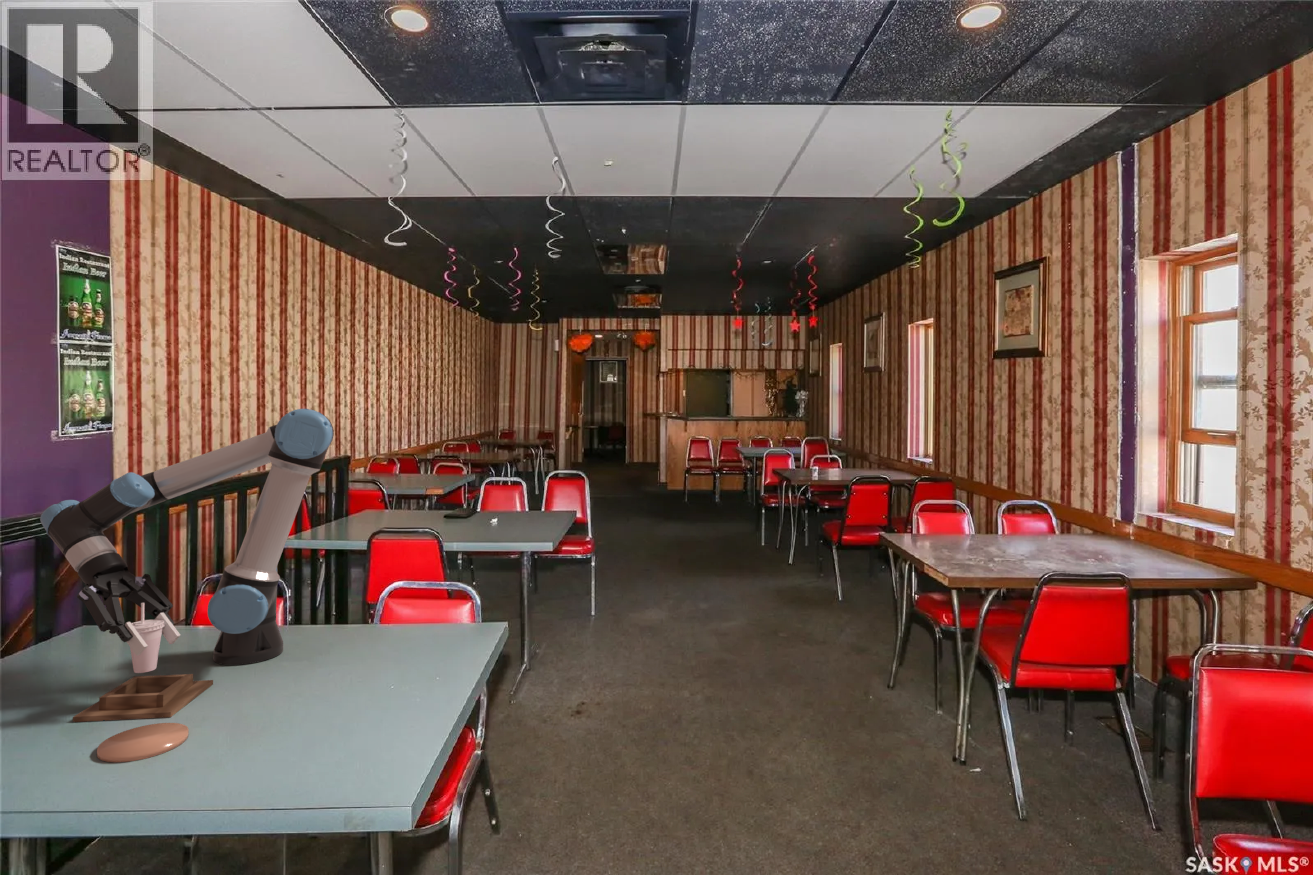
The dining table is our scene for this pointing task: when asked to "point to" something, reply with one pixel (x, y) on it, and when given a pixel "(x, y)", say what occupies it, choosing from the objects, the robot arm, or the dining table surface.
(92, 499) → the robot arm
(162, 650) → the dining table surface
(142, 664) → the smoothie
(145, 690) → the cup holder
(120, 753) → the coaster
